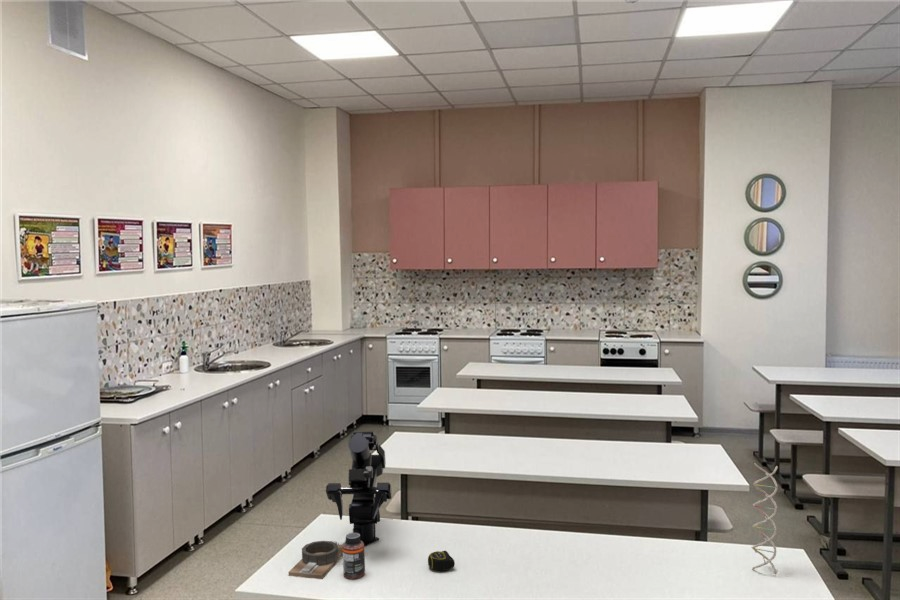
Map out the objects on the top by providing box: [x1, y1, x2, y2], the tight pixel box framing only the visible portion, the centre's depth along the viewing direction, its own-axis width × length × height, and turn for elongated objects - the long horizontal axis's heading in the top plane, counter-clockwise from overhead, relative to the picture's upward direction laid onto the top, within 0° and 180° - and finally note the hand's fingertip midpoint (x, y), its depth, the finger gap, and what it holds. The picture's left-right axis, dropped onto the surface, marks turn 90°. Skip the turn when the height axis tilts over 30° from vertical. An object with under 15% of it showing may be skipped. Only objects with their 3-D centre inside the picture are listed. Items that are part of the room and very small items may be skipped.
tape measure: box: [427, 550, 456, 572], centre depth 198 cm, size 7×7×4 cm
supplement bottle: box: [342, 532, 366, 580], centre depth 194 cm, size 6×6×11 cm
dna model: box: [751, 462, 779, 574], centre depth 192 cm, size 7×6×30 cm
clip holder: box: [288, 540, 343, 580], centre depth 203 cm, size 20×10×4 cm, turn 167°
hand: (356, 519), depth 201 cm, fingers open, 9 cm apart
